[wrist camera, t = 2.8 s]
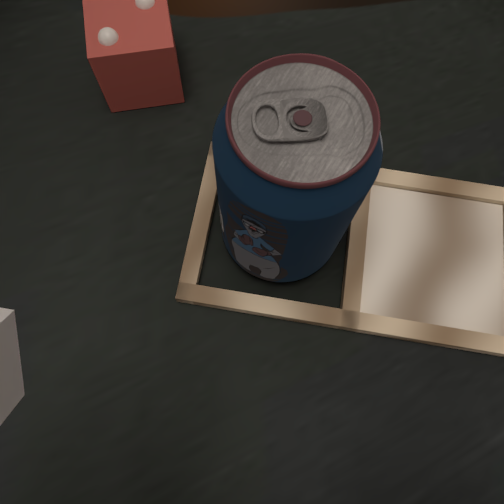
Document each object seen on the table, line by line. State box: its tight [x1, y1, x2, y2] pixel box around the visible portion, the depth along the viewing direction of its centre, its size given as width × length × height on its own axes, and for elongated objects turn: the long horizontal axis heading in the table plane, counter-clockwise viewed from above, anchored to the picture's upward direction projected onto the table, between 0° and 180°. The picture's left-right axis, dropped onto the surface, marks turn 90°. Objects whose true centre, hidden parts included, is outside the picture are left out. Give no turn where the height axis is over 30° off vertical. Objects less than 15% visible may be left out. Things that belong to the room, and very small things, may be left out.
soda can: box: [212, 53, 383, 282], centre depth 22 cm, size 7×7×12 cm
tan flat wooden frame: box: [175, 142, 504, 357], centre depth 27 cm, size 30×10×1 cm, turn 81°
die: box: [83, 0, 185, 112], centre depth 29 cm, size 5×5×6 cm
